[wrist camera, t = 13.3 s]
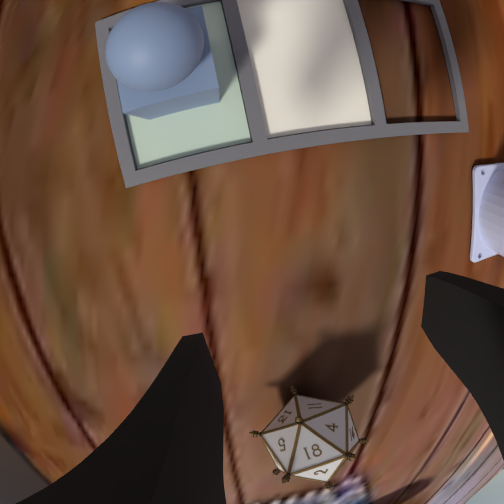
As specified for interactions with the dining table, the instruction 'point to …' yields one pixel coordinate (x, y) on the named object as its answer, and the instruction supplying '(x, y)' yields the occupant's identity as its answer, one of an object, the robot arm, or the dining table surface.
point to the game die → (311, 438)
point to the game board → (271, 87)
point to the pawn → (162, 60)
